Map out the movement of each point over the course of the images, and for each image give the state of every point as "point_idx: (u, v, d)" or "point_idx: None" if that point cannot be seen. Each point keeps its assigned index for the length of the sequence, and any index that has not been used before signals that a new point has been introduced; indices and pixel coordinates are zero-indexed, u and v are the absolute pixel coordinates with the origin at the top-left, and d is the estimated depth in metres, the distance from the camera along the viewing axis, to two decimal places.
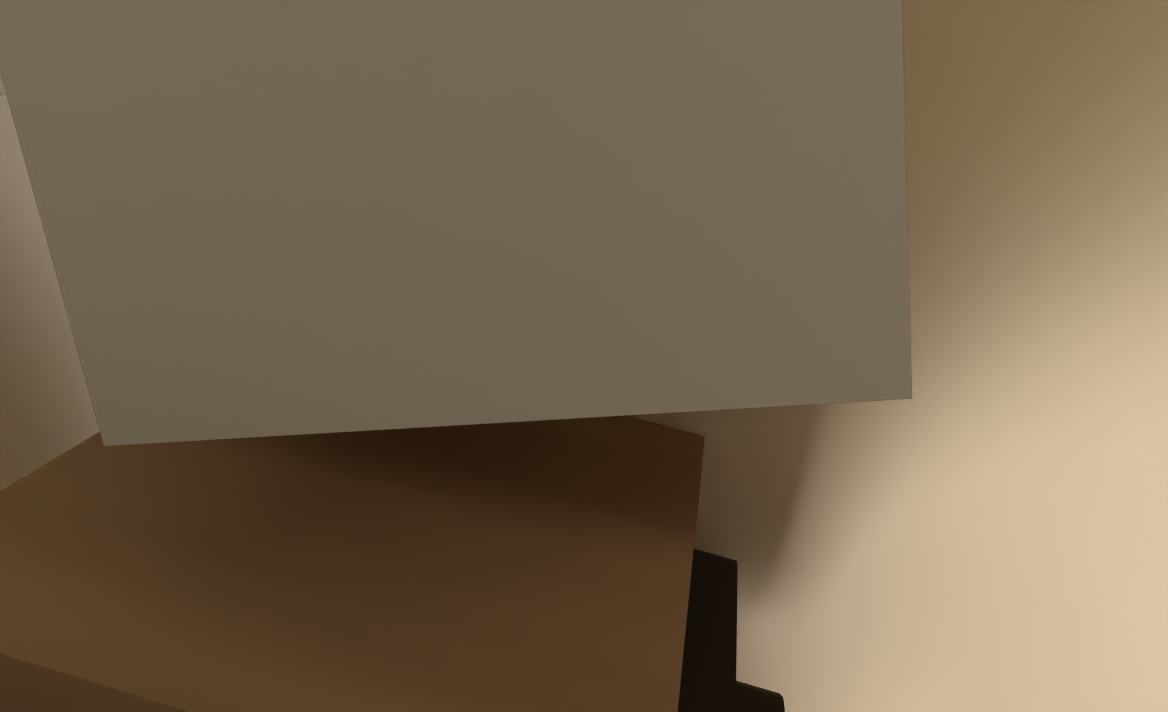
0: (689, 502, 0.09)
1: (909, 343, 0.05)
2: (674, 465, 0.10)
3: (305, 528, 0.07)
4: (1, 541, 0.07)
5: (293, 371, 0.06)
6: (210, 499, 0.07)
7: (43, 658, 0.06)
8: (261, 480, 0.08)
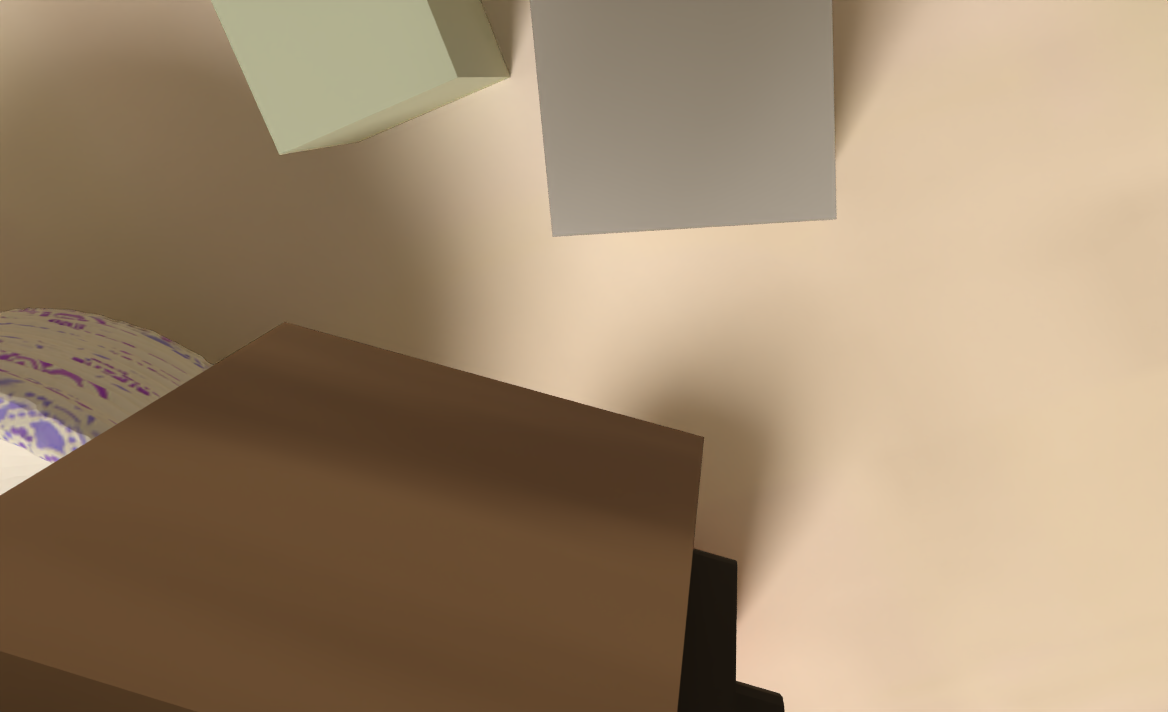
0: (688, 502, 0.09)
1: None
2: (673, 465, 0.10)
3: (307, 529, 0.07)
4: (6, 541, 0.07)
5: (627, 209, 0.17)
6: (213, 499, 0.08)
7: (49, 659, 0.06)
8: (263, 481, 0.08)
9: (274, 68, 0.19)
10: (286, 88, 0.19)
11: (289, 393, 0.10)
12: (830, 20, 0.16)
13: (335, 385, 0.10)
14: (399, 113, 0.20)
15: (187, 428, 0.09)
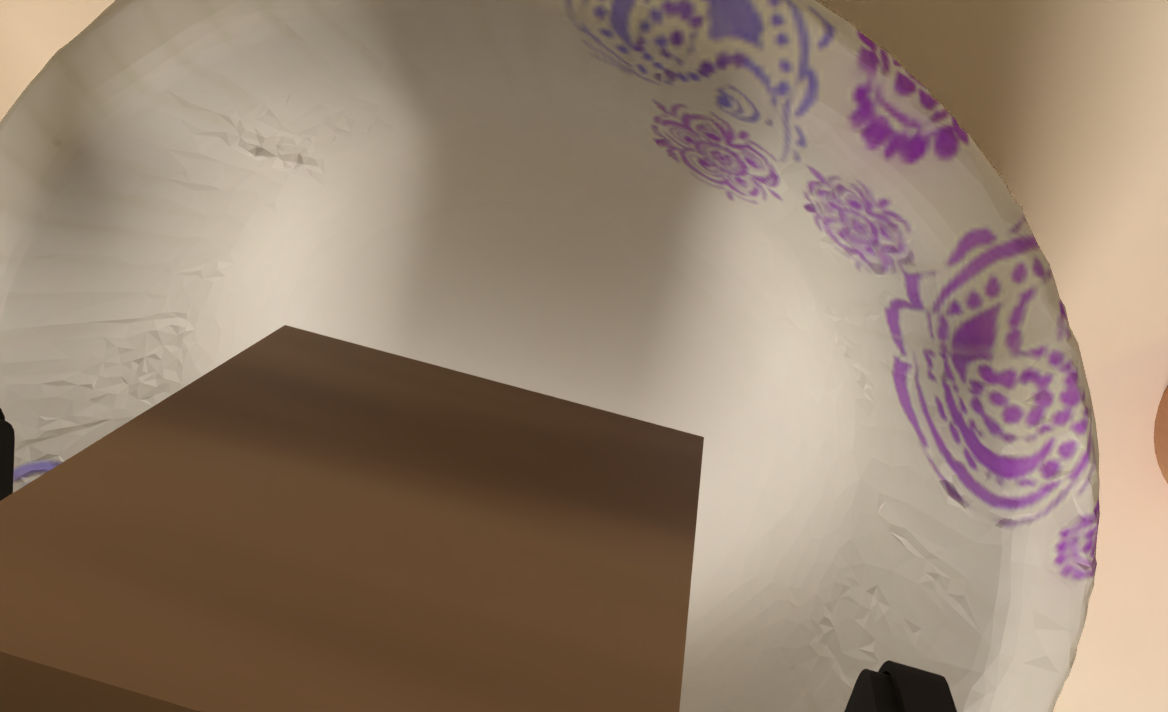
0: (689, 502, 0.09)
1: None
2: (673, 465, 0.10)
3: (309, 532, 0.07)
4: (10, 544, 0.07)
5: None
6: (217, 501, 0.08)
7: (56, 661, 0.06)
8: (266, 483, 0.08)
9: None
10: None
11: (291, 396, 0.10)
12: None
13: (336, 387, 0.10)
14: None
15: (189, 430, 0.09)
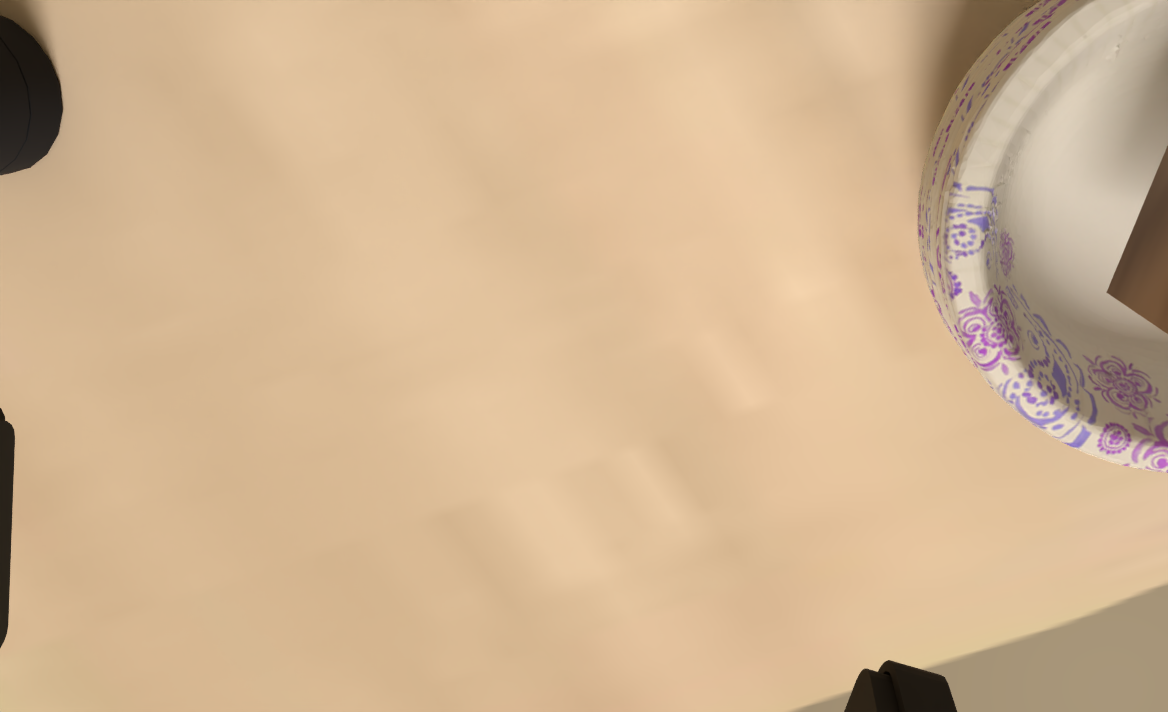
0: None
1: None
2: None
3: None
4: None
5: None
6: None
7: None
8: None
9: None
10: None
11: None
12: None
13: None
14: None
15: None
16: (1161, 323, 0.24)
